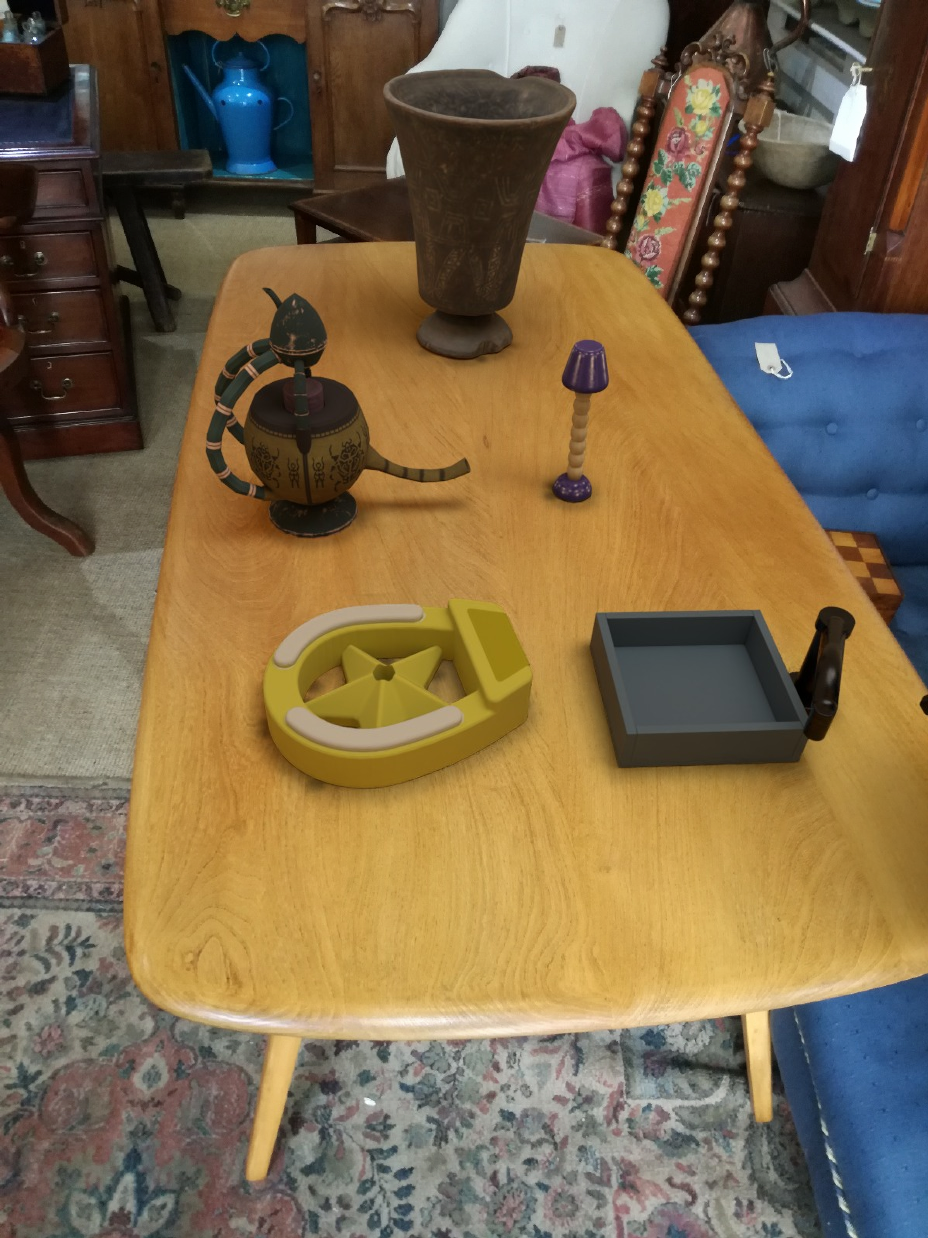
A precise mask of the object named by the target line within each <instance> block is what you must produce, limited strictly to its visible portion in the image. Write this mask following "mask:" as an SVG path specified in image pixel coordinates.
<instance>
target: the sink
mask: <svg viewBox="0 0 928 1238" xmlns="http://www.w3.org/2000/svg"><path fill="white" fill-rule="evenodd" d="M773 637H774V636H773V635H772V632H771V631H770V629H769V627H768V624H767V622H766V620H765V617H764V615H763V613H762V611H761V609H718V610H717V609H716V610H715V609H713V610H712V609H711V610H710V609H709V610H658V611H657V610H655V611H604V612H603V611H602V612H600V611H599V612H598V611H597V612H595V615H594V620H593V626H592V632H591V638H590V643H589V649H590V653H591V657H592V661H593V665H594V670H595V674H596V678H597V682H598V686H599V691H600V695H601V698H602V702H603V708H604V712H605V715H606V719H607V723H608V728H609V732H610V736H611V740H612V744H613V748H614V752H615V757H616V761H617V766H618V768H644V767H645V768H647V767H676V766H701V765H703V766H706V765H707V766H708V765H710V766H711V765H737V764H738V765H740V764H741V765H742V764H743V765H744V764H771V763H798V762H799V761H800V759H801V757H802V755H803V752H804V750H805V748H806V746H807V744H808V742H809V740H810V739H808V738H807V737H806V736H805V735H804V733H803V728H804V725H805V723H806V721H807V719H808V715H807V713H806V711H805V709H804V706H803V704H802V702H801V700H800V697H799V695H798V693H797V691H796V689H795V686H794V684H793V682H792V680H791V677H790V675H789V673H790V672H789V671H788V669H787V667H786V664H785V662H784V660H783V658H782V657H783V656H781V653H780V651H779V648H778V646H777V644H776V642H775V640H774V638H773Z"/></svg>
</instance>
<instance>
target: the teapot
mask: <svg viewBox="0 0 928 1238" xmlns="http://www.w3.org/2000/svg"><path fill="white" fill-rule="evenodd" d="M261 289H262V290H263V292H264V293H265V294H267V296H268V297H269V298H270V299H271V300H272V302H273V304H274V306H275V307H276V311H275V313H274V316H273V319H272V321H271V325H270V331H269V337H265V338H261V339H256V340H255V341H253V342H251V343H248V344H246V345H245V346H243V347H242V348H240V350H238V351H237V352H236V353H235V354H233V355H232V356H230V358H229V359H228V360H227V361H226V363H225V364H224V366H223V367H222V369H221V371H220V373H219V374H218V377H217V380H216V383H215V385H214V397H213V398H214V399H213V400H214V403H215V410H214V411H213V414H212V416H211V420H210V422H209V425H208V429H207V432H206V440H205V454H206V457H207V460H208V463H209V466H210V468H211V469H212V471H213V472H214V474H215V475H216V476H217V478H218V479H219V481H220V482H221V483H222V484H224V485H225V487H227V488H228V489H230V490H231V491H232V492H234V493H235V494H238V495H241V496H245V497H249V498H252V499H256V500H260V501H263V503H265V502H270V503H269V505H268V509H267V512H268V517H269V521H270V523H271V524H272V525H273V526H274V528H275V529H276V530H278V531H280V532H281V533H283V534H284V535H287V536H290V537H295V538H298V539H309V540H313V539H321V538H328V537H331V536H335V535H337V534H340V533H342V532H343V531H345V530H346V529H347V528H349V527H351V525H352V524H353V523H354V521H355V520H356V519H357V515H358V511H359V506H358V503H357V500H356V498H355V497H354V495H353V494H352V493H351V492H350V491H348V490H350V489H351V488H352V487H353V485H354V484H355V483H356V482H357V481H358V479H359V478H360V476H361V475H362V473H363V471H364V470H365V471H366V470H367V471H377V472H381V473H384V474H387V475H390V476H393V477H395V478H399V479H403V480H406V481H407V480H408V481H413V482H416V483H421V484H422V483H423V484H424V483H426V484H427V483H441V482H447V481H451V480H456V479H457V478H460V477H463V476H465V475H467V474H470V473H471V472H472V470H471V465H470V463H469V461H468V459H467V457H463V458H461V459H460V460H458V461H457V462H455V463H454V464H452V465H449V466H446V467H443V468H416V467H415V468H414V467H413V468H412V467H407V466H404V465H400V464H398V463H395V462H393V461H391V460H390V459H387V458H386V457H384V456H383V455H381V453H380V452H378V451H377V450H376V449H375V448H374V447H373V446H372V445H371V444H370V442H371V437H370V428H369V427H370V426H369V425H368V422H367V420H366V417H365V414H364V411H363V408H362V407H361V405H360V403H359V401H358V398H357V397H356V395H355V393H354V392H353V390H351V389H350V388H349V387H348V386H347V385H346V384H344V383H342V382H340V381H338V380H335V379H334V378H333V379H332V378H328V377H324V376H316V375H315V376H313V373H312V369H311V368H312V367H313V366H314V367H315V366H316V365H317V364H318V363H320V360H321V358H322V356H323V354H324V351H325V350H326V348H327V346H328V332H327V330H326V327H325V324H324V321H323V319H322V318H321V317H320V314H319V312H318V311H317V310H316V308H315V307H314V306H313V305H312V304H311V303H310V302H309V301H308V299H306V298H305V297H302V296H301V295H299V294H298V293H296V292H293V293H291V295H289V296H288V297H287V298H285V299H284V300H283V301H282V300H281V299H280V298H279V296H278V295H277V294H276V292H275V291H274V290H273V289H272V288H270V287H262V288H261ZM278 364H279V365H284V366H285V367H288V368H291V369H294V373H293V376H287V377H284V378H280V379H277V380H273V381H271V382H269V383H267V384H265V385H263V386H262V387H261V388H259V389H258V390H257V391H256V392H255V393H254V395H253V397H252V400H251V402H250V405H249V408H248V410H247V414H246V416H245V421H244V425H242V424H241V423H240V422H239V419H237V417H236V415H235V413H234V412H233V411H234V408H235V406H236V404H237V402H238V401H239V399H240V398H241V396H242V395H243V394H244V393H245V392H246V390H247V389H248V388H249V386H250V385H252V383H253V382H254V381H255V380H256V379H257V378H259V377H260V375H262V374H263V373H264V372H266V371H268V370H270V369H271V368H273V367H275V366H276V365H278ZM243 367H244V368H243ZM225 428H226V430H227V432H229V434H231V435H232V436H233V438H234V439H235V440H236V441H237V442H238V443H239V444H240V445H242V446H244V449H245V451H244V452H245V455H246V458H247V462H248V464H249V467H250V470H251V471H252V472H253V474H254V475H255V476H256V477H257V478H258V479H259V481H260V482H261V483H262V484H263V485H259V484H255V483H253V482H249V481H246V480H242V479H240V478H239V477H238V476H237V475H235V474H234V473H233V471H232V470H231V469H230V467H229V466H228V464H227V462H226V461H225V457H224V454H223V452H222V445H223V435H224V432H225Z"/></svg>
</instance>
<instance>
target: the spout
mask: <svg viewBox="0 0 928 1238" xmlns="http://www.w3.org/2000/svg"><path fill="white" fill-rule="evenodd" d="M855 627H856V619H855V617H854V616H853V614H852V613H851V612H850V611H848V610H846V609H845V608H842V607H839V606H832V605H831V606H825V607H823V608H821V609H820V610H819V612H818V614H817V617H816V619H815V621H814V629H815V632H816V631H817V632H818V633H819V634H820V635H821V639H820V646H819V653H818V660H817V667H816V674H815V681H814V688H813V695H812V702H811V709H812V710H811V712H810V714H809V716H808V719H807V721H806V723H805V725H804V728H803V733H804V735H805V736H806V737H807V738H808V739H809V740H810V741H813V742H821V741H823V740H825V738H826V736H827V734H828V732H829V730H830V728H831V726H832V723H833V721H834V719H835V717H836V715H837V712H838V708H839V701H840V692H841V691H840V690H841V681H842V674H843V664H844V658H845V657H844V656H845V648H846V640H848V639H850V638H851V635H852V633H853V631H854V628H855Z"/></svg>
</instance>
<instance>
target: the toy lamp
mask: <svg viewBox="0 0 928 1238" xmlns="http://www.w3.org/2000/svg"><path fill="white" fill-rule="evenodd" d="M607 361H608V360H607V355H606V348H605V346H604V345H603V344H602V343H601V342H600V341H598V340H595V339H581V340H578V341H576V342H575V343H574V345H573V347H572V348H571V350H570V354H569V356H568V358H567V361H566V364H565V366H564V369H563V371H562V374H561V383H562V386H563V387H565V388H566V389H567V390H569V391H571V392H574V396H575V398H574V400H573V405H572V407H573V413H572V416H571V423H572V425H571V427H570V431H569V435H570V439H569V443H568V449H569V452H568V456H567V461H568V465H567V467H566V472H563V473H561V474H560V475H558V476H557V477H556V479H555V480H554V482H553V484H552V492H553V494H554V496H556V497H557V498H558V499H560V500H561V501H565V502H570V503H576V502H582V501H585V500H587V499H589V498H590V497H591V496H592V493H593V486H592V483H591V481H590V479H589V478H588V477H587V476H586V475H585V474H583V473H584V466H583V465H584V463H585V451H586V448H587V441H586V438H587V436H588V427H587V426H588V423H589V420H590V416H589V412H590V409H591V405H592V403H591V397H592V395H594V394H598V393H601V392H603V391H604V390H606V389H607V388H608V386H609V383H610V376H609V375H610V374H609V369H608V368H609V367H608V362H607Z"/></svg>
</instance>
